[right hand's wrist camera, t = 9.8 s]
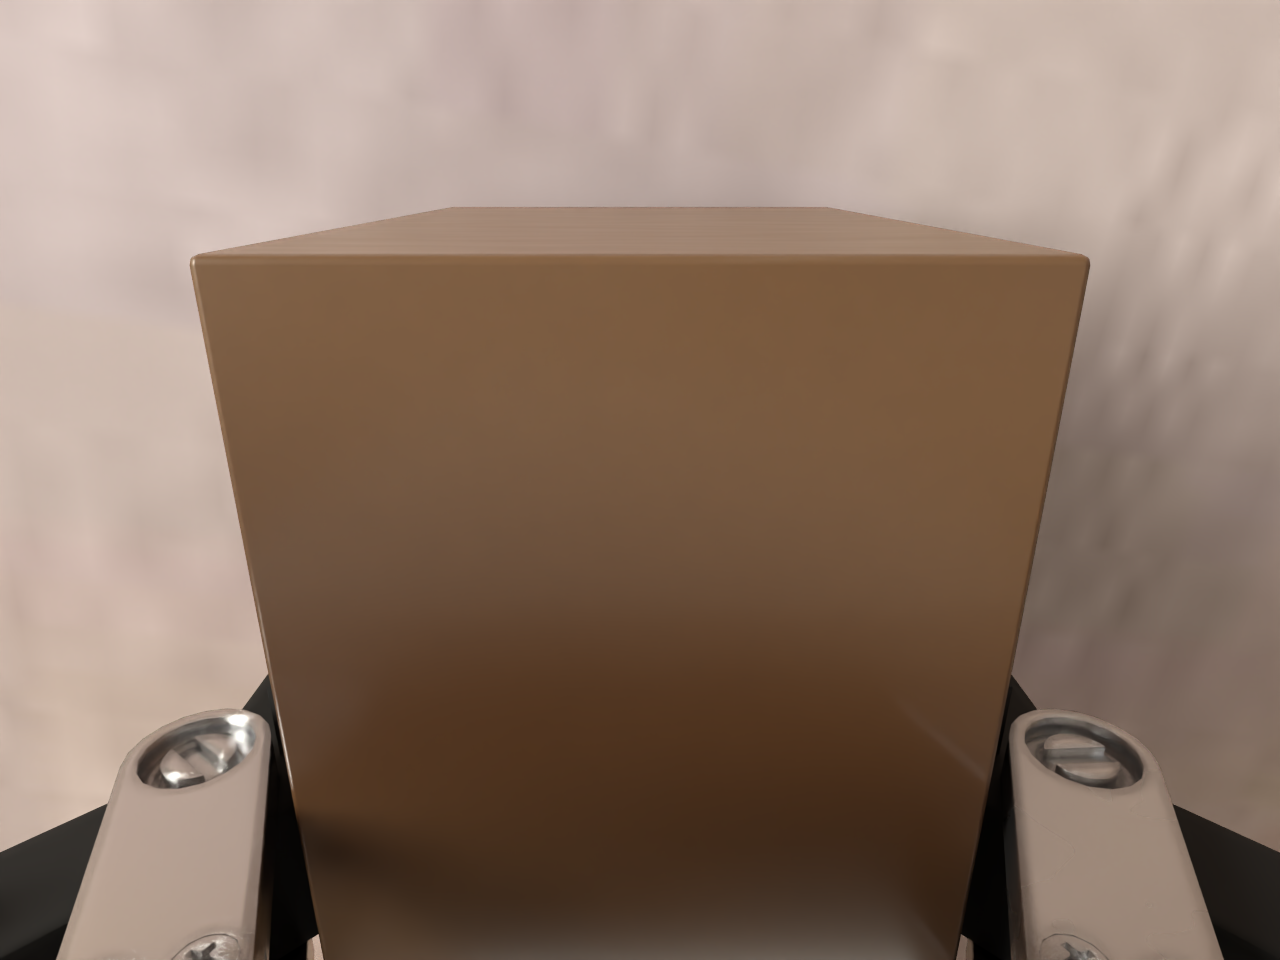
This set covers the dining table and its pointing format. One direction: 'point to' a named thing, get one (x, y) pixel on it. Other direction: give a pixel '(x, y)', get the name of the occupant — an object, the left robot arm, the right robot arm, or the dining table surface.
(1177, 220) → the dining table surface
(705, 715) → the post
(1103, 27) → the dining table surface
